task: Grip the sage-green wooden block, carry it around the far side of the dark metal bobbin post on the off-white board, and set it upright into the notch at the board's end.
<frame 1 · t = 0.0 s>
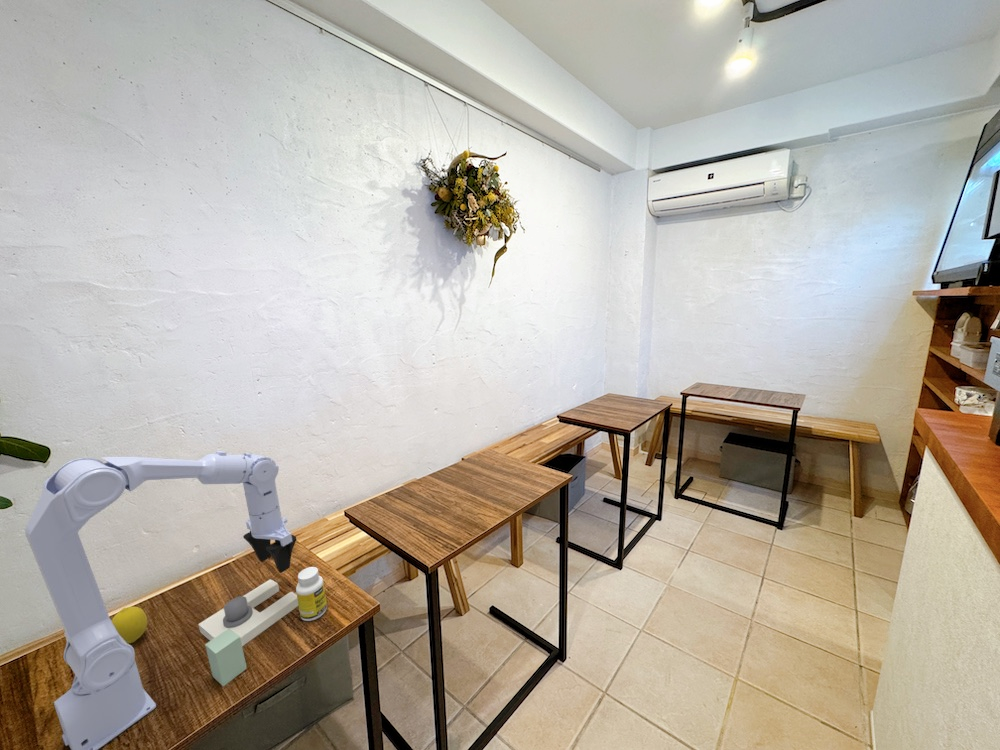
hand: (274, 564, 87), 10 cm above the table, tool pointing down, fingers open, 7 cm apart
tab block: (229, 672, 73), on the table
lemon: (133, 642, 81), on the table
notched board: (252, 617, 85), on the table
supplement bottle: (314, 612, 86), on the table
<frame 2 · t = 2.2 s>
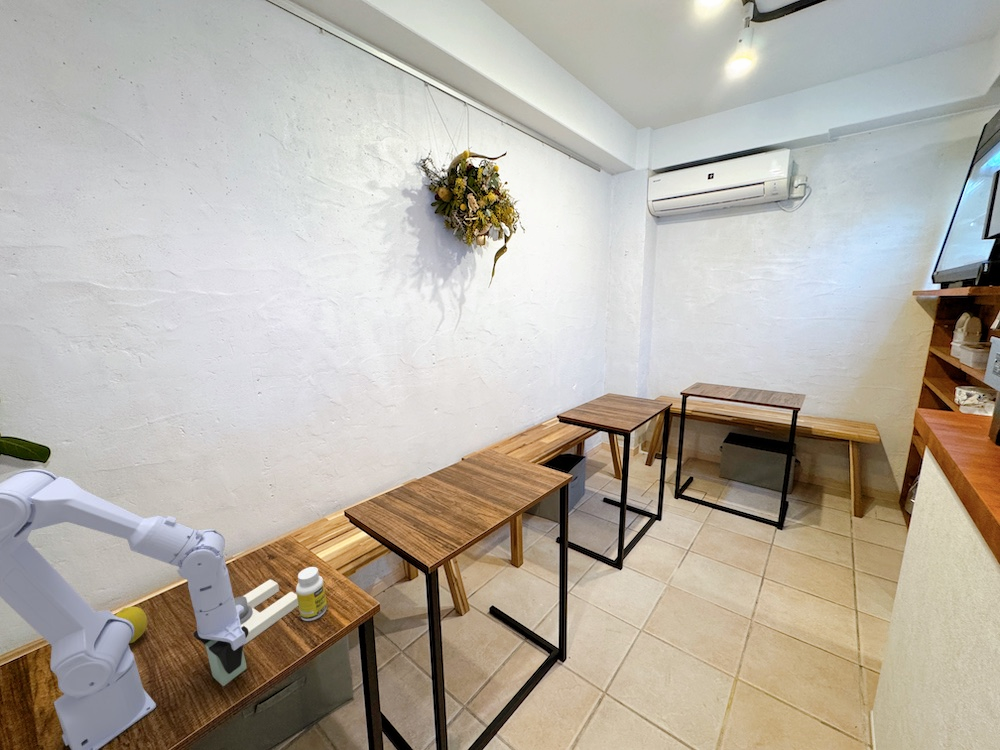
hand: (228, 663, 72), 2 cm above the table, tool pointing down, fingers closed on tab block, 4 cm apart
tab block: (230, 672, 73), on the table, touching gripper
everything else where it was.
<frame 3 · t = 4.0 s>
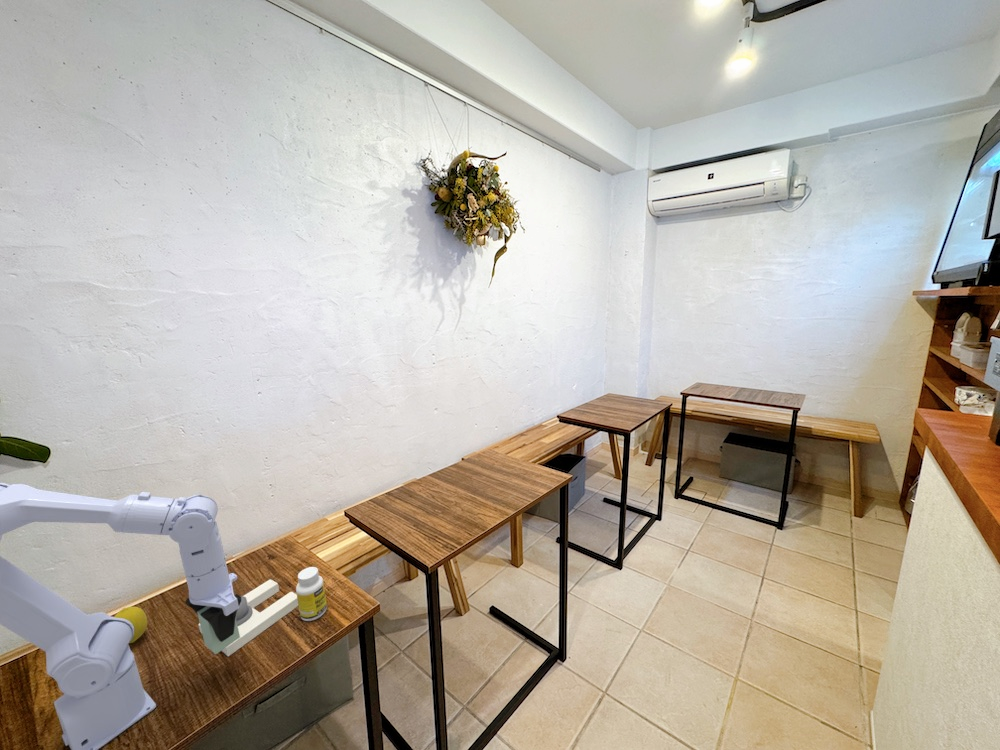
hand: (220, 632, 71), 9 cm above the table, tool pointing down, fingers closed on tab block, 4 cm apart
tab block: (222, 641, 71), point 7 cm above the table, touching gripper
everything else where it was.
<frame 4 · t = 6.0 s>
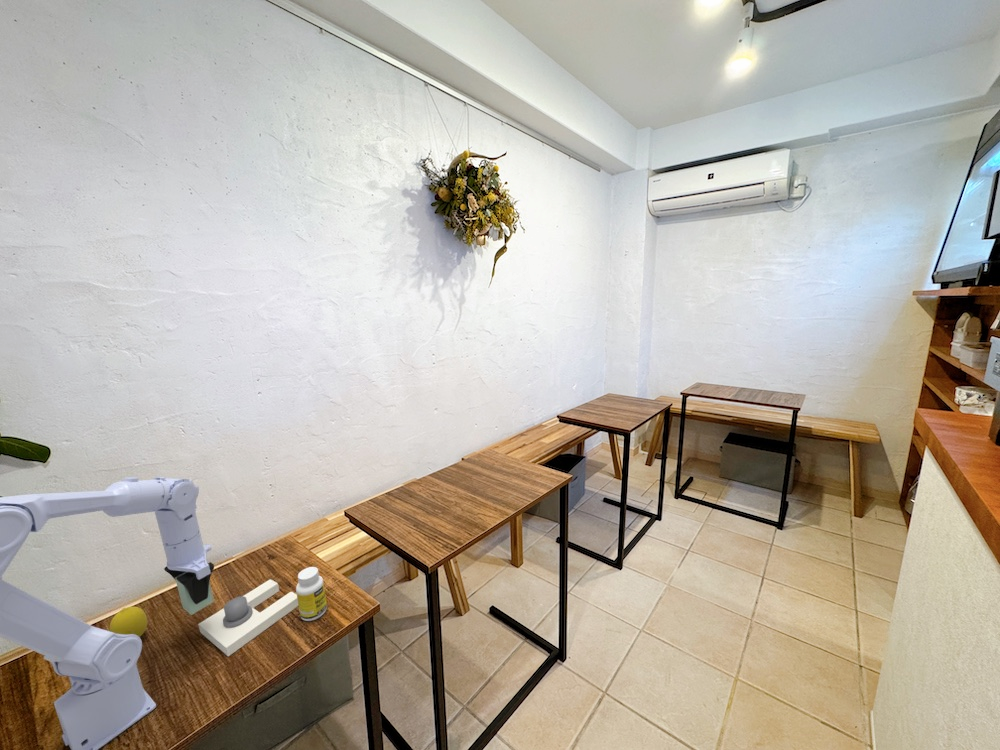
hand: (196, 596, 79), 9 cm above the table, tool pointing down, fingers closed on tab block, 4 cm apart
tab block: (198, 604, 80), point 8 cm above the table, touching gripper
everything else where it was.
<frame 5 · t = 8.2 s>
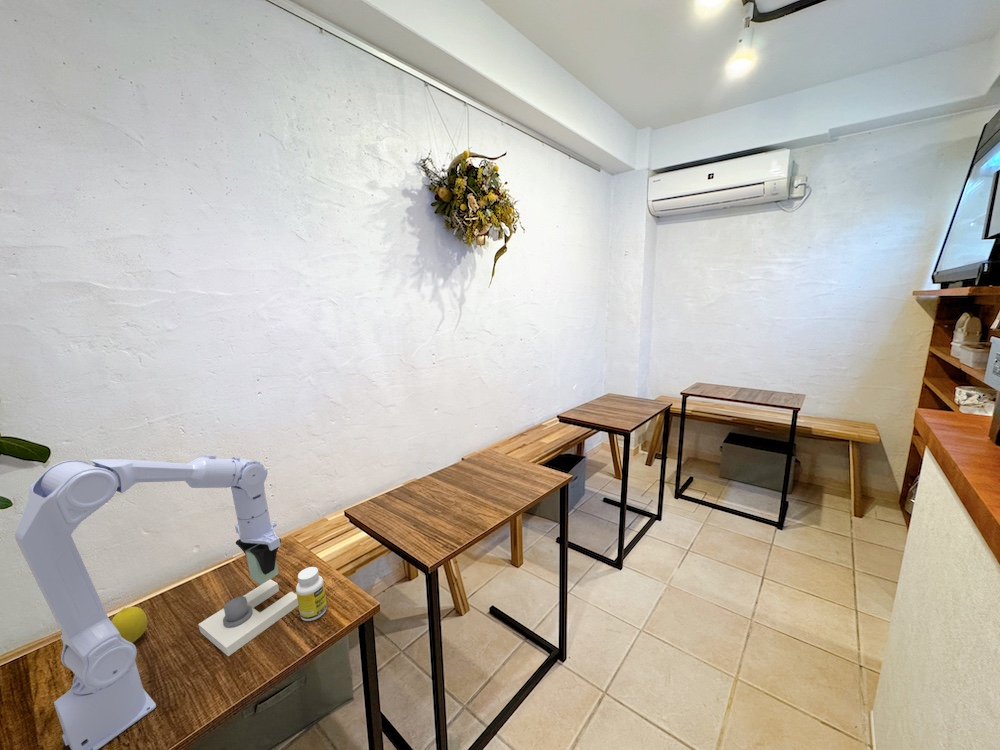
hand: (263, 568, 87), 9 cm above the table, tool pointing down, fingers closed on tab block, 4 cm apart
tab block: (265, 576, 87), point 7 cm above the table, touching gripper
everything else where it was.
when the fingers open (3 cm above the table, at t = 10.2 s): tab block drops 1 cm, resting in notched board.
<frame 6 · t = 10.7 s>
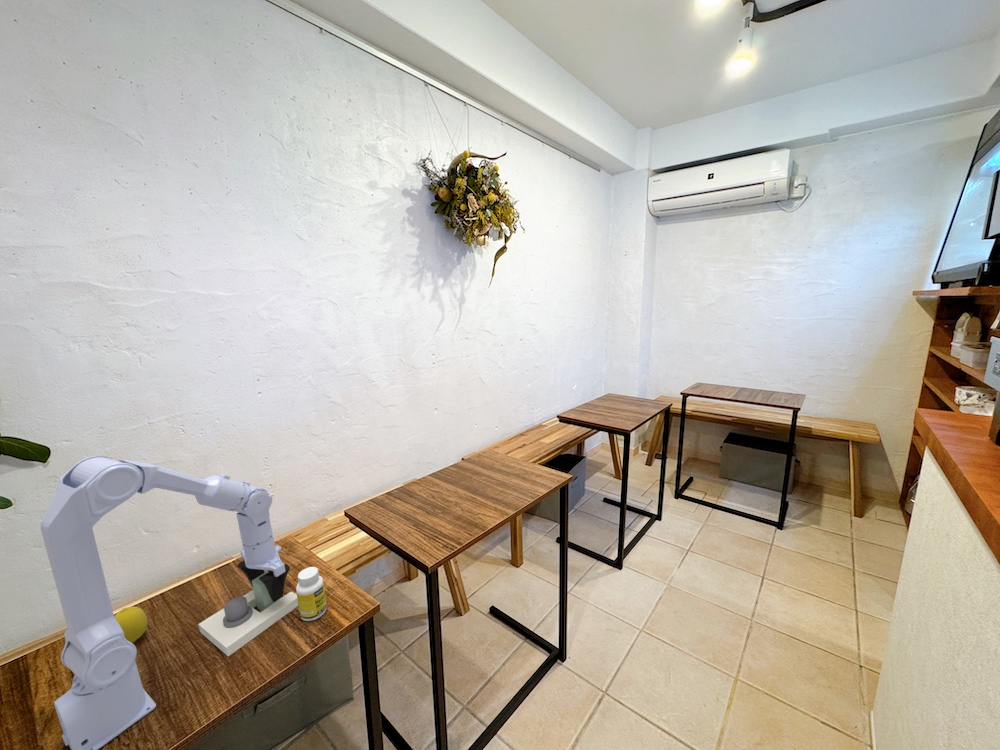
hand: (268, 592, 88), 3 cm above the table, tool pointing down, fingers open, 7 cm apart
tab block: (270, 605, 89), resting in notched board
everything else where it was.
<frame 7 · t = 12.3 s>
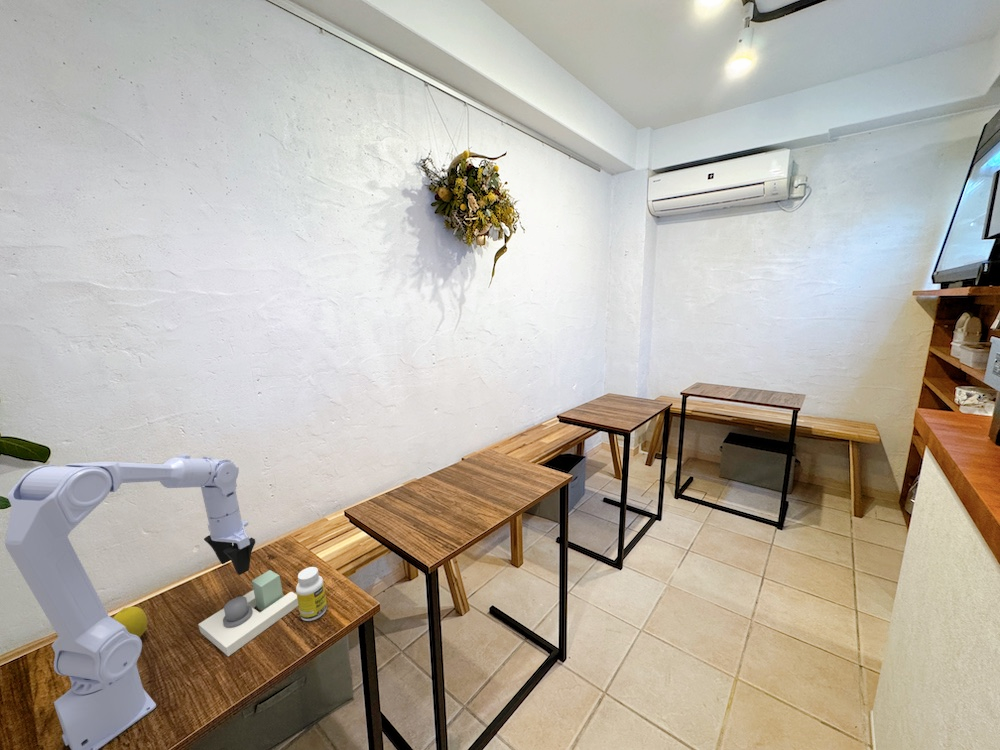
hand: (235, 566, 88), 9 cm above the table, tool pointing down, fingers open, 7 cm apart
nothing on the table moved.
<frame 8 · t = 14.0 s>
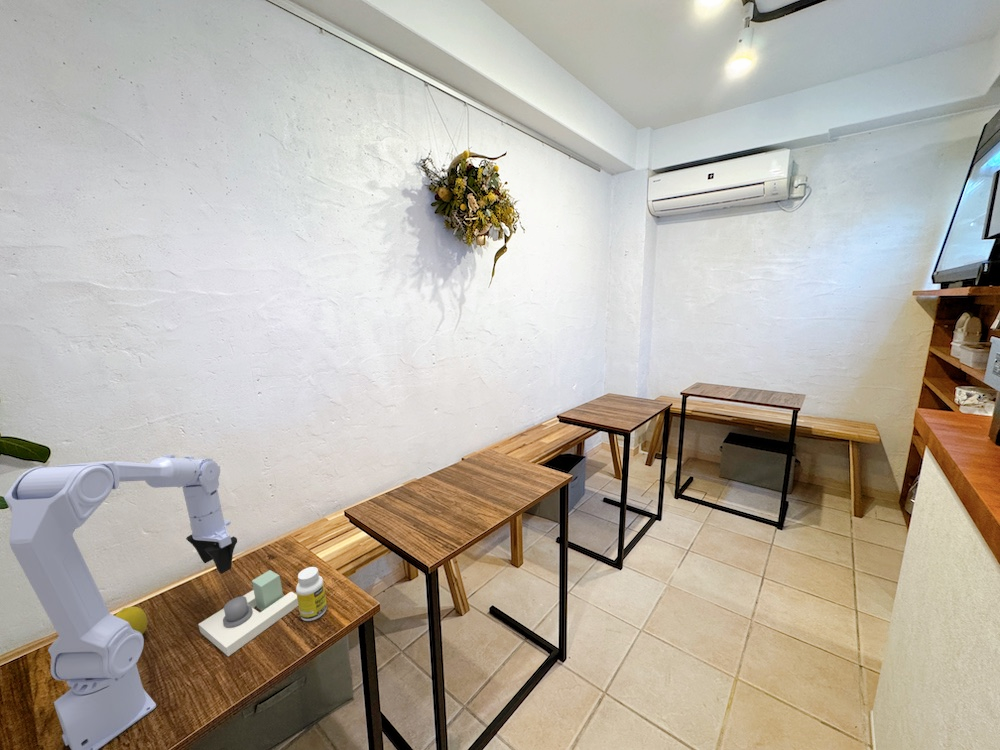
hand: (217, 565, 89), 9 cm above the table, tool pointing down, fingers open, 7 cm apart
nothing on the table moved.
at the end: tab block 0.4 cm from the target spot on the notched board, point 0.0 cm above the notched board's base; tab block tilted 0°; the gripper is holding nothing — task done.
